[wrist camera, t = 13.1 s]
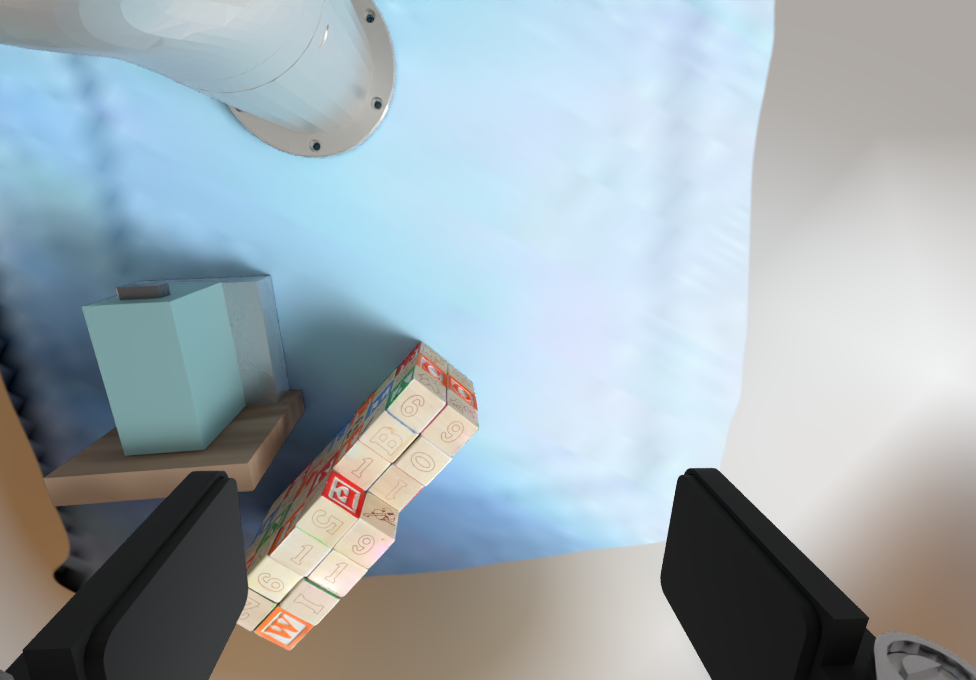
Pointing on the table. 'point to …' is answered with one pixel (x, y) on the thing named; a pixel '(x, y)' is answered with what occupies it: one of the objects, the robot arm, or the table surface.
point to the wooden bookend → (234, 449)
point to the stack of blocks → (355, 496)
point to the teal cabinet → (167, 364)
